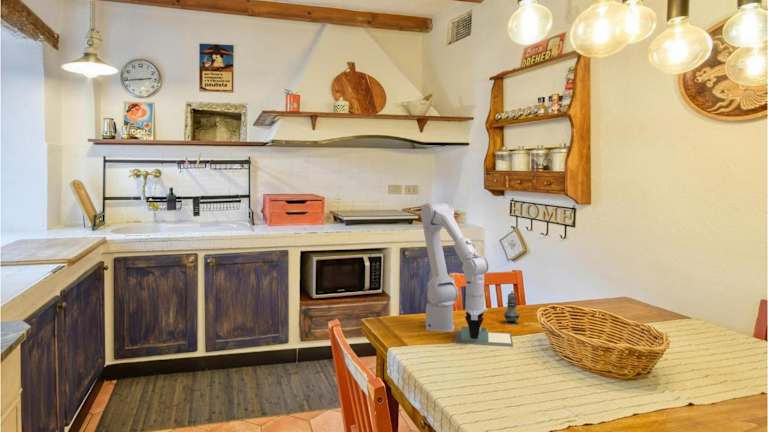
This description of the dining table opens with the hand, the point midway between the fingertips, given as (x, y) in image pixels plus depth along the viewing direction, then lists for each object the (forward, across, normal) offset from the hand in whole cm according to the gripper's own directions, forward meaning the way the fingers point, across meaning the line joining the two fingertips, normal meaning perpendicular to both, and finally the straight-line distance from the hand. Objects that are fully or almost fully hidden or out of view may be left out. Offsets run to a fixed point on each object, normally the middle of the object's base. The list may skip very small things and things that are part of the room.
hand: (474, 336), depth 159 cm
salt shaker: (+2, +23, -13) cm, 26 cm away
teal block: (+1, 0, 0) cm, 1 cm away
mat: (+2, +2, -3) cm, 4 cm away
